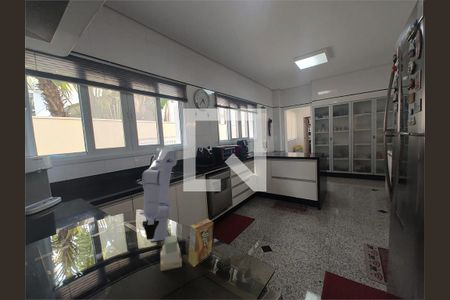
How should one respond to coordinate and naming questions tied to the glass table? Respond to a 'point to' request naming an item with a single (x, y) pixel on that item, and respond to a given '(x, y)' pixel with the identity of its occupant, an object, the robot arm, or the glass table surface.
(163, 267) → the slab bottom
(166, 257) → the slab top
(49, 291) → the glass table surface
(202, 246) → the candy box
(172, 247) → the block
